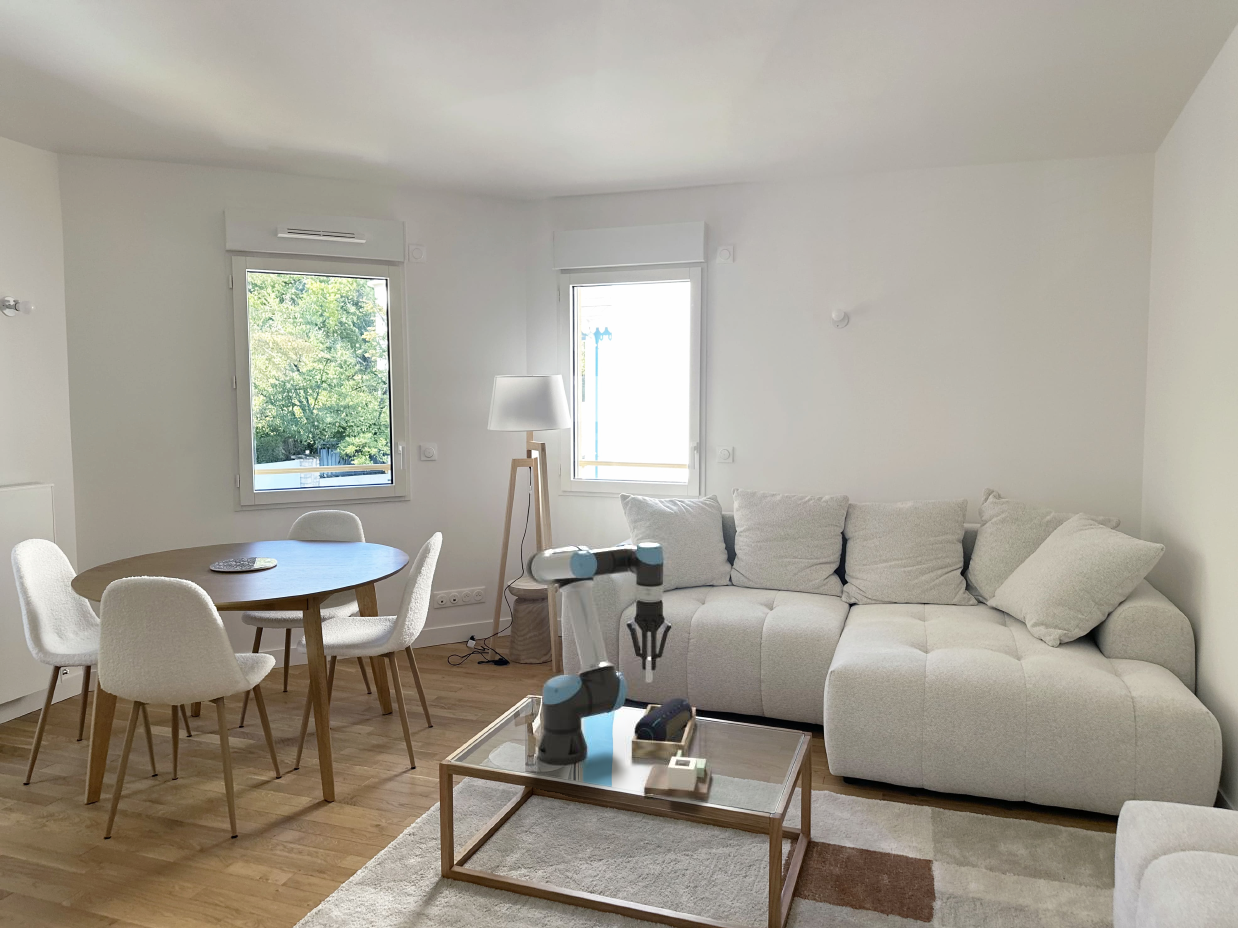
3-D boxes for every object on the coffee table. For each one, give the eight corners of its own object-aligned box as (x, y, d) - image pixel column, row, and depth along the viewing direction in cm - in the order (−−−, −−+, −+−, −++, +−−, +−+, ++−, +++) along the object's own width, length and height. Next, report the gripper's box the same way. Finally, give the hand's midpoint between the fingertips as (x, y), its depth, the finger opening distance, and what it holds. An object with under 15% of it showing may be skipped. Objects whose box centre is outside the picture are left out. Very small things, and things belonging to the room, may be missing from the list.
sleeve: (672, 777, 237) (671, 756, 236) (696, 779, 235) (696, 758, 235) (668, 788, 230) (668, 766, 229) (693, 790, 228) (693, 769, 228)
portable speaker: (658, 754, 256) (658, 722, 255) (631, 747, 261) (630, 716, 260) (697, 726, 276) (697, 697, 276) (671, 721, 282) (671, 692, 281)
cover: (675, 775, 237) (675, 758, 237) (678, 766, 243) (678, 749, 243) (703, 777, 236) (703, 760, 235) (706, 768, 242) (706, 752, 241)
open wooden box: (631, 756, 255) (631, 740, 255) (648, 718, 286) (648, 704, 285) (684, 760, 252) (684, 744, 252) (695, 721, 282) (695, 707, 282)
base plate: (644, 794, 231) (644, 765, 230) (653, 770, 245) (653, 743, 245) (706, 799, 227) (706, 770, 227) (711, 775, 242) (711, 748, 241)
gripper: (624, 601, 233) (624, 683, 235) (670, 603, 230) (670, 686, 232) (628, 594, 240) (628, 674, 242) (674, 596, 238) (673, 677, 240)
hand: (649, 680), depth 237 cm, fingers closed
